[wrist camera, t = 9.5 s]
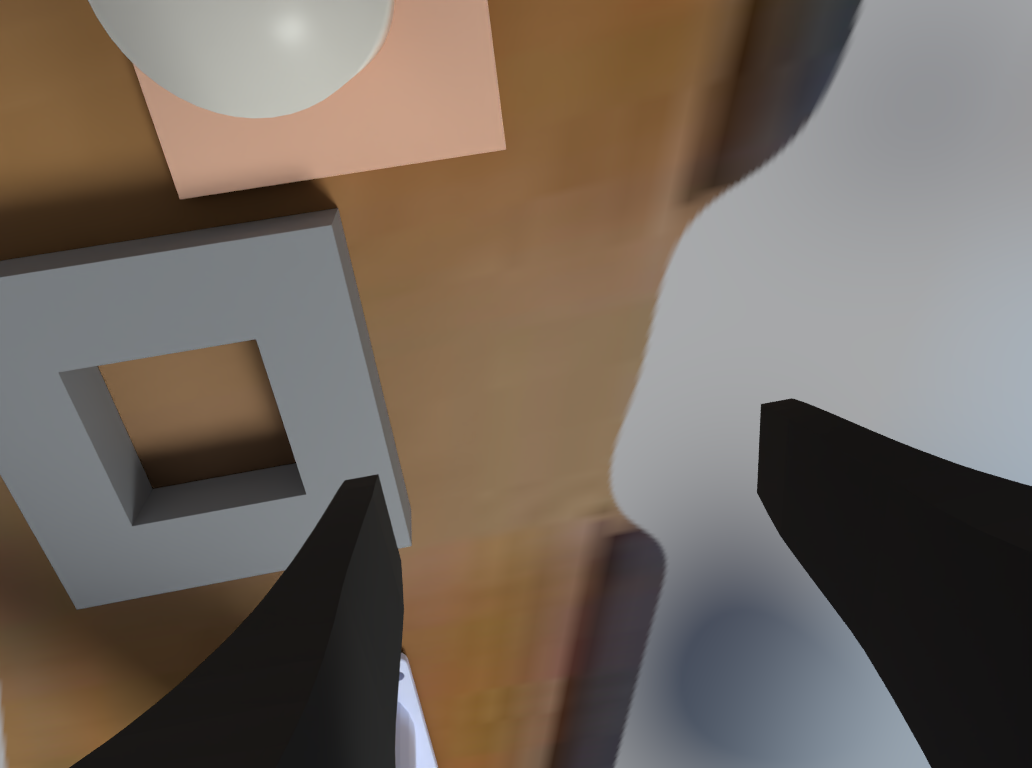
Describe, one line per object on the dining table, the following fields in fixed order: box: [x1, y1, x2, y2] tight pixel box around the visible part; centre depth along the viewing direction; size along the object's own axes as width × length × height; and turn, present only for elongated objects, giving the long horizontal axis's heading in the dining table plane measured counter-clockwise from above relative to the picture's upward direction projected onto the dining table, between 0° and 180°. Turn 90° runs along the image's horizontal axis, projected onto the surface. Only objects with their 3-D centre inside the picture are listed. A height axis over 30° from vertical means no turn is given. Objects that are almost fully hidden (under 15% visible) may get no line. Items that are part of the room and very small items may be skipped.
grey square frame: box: [0, 208, 412, 610], centre depth 22 cm, size 11×11×2 cm
